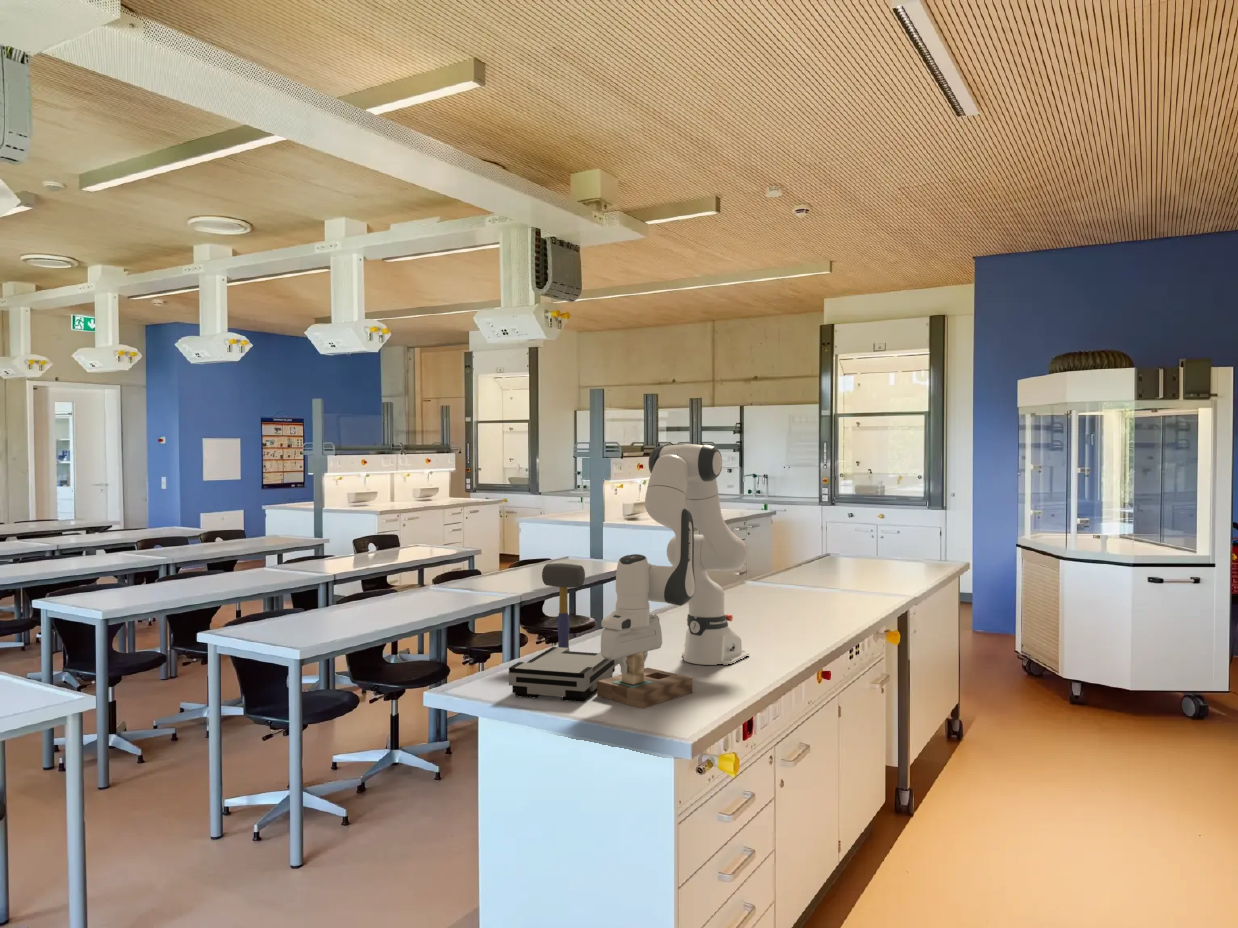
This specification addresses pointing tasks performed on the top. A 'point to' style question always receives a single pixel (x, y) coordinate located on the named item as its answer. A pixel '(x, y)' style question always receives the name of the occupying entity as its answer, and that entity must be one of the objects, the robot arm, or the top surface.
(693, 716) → the top surface
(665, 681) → the board
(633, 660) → the peg
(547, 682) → the game console
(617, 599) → the robot arm
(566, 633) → the rubber mallet
